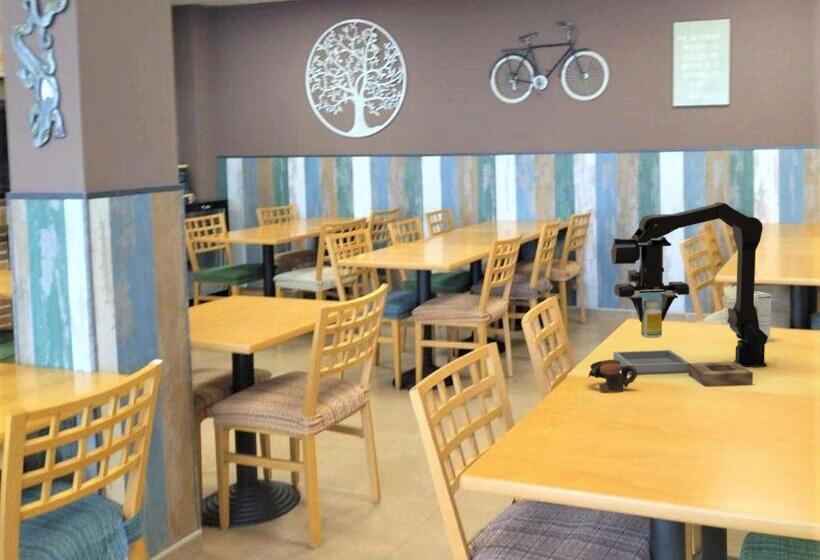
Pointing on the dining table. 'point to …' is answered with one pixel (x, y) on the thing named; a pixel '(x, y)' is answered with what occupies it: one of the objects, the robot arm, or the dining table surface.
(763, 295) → the syrup box
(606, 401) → the dining table surface
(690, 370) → the sleeve block
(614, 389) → the pottery mug
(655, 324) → the supplement bottle
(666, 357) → the tray
